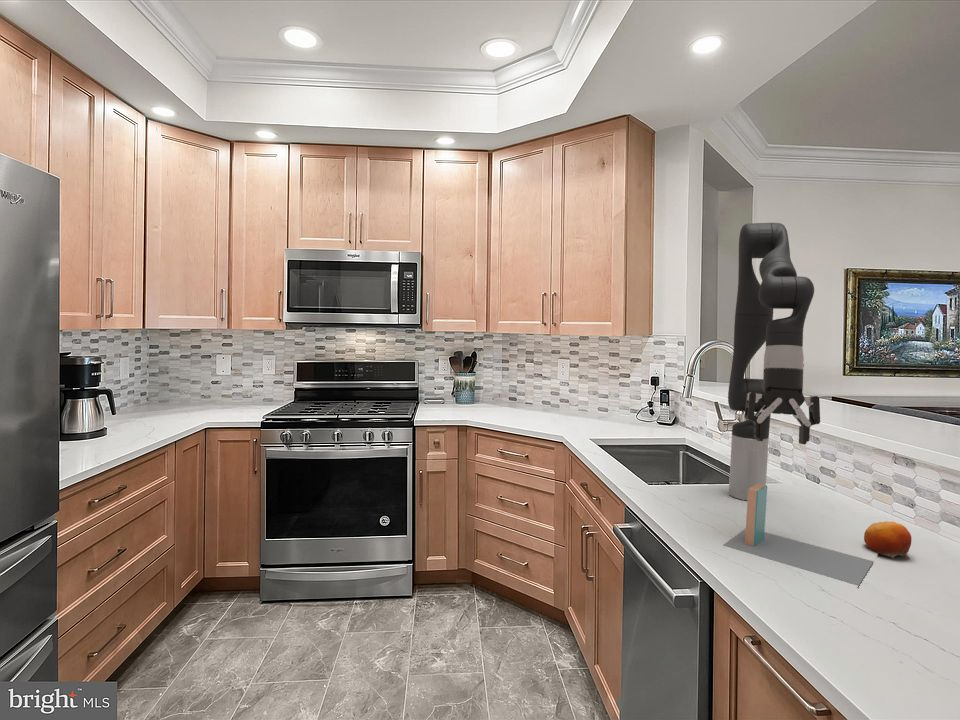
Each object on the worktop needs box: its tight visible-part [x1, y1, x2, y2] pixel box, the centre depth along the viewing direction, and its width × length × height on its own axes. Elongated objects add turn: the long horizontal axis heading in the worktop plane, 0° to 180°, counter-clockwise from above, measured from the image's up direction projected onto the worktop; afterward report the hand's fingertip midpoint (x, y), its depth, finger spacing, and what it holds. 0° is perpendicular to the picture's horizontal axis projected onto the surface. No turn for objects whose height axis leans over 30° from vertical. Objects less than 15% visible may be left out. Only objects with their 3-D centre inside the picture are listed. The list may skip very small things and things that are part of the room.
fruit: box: [863, 521, 913, 560], centre depth 112 cm, size 8×8×8 cm
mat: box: [722, 528, 874, 589], centre depth 110 cm, size 15×24×1 cm, turn 45°
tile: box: [745, 484, 768, 546], centre depth 116 cm, size 6×2×12 cm, turn 135°
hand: (780, 442), depth 114 cm, fingers open, 8 cm apart
